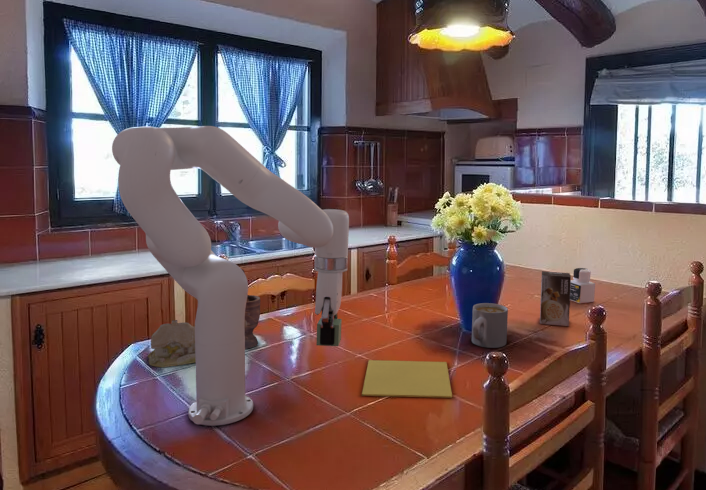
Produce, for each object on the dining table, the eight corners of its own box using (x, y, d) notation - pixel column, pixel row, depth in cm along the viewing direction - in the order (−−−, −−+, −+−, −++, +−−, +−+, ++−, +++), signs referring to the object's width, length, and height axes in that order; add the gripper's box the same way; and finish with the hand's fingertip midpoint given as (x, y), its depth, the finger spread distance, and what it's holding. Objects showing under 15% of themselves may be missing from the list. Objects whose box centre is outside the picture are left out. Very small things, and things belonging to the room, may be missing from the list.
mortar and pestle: (216, 341, 155) (215, 271, 152) (244, 334, 161) (244, 266, 159) (238, 352, 147) (237, 278, 144) (266, 345, 153) (266, 273, 151)
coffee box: (568, 320, 182) (571, 272, 180) (569, 326, 176) (571, 276, 174) (539, 318, 184) (541, 270, 182) (539, 324, 178) (541, 274, 176)
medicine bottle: (566, 298, 209) (568, 267, 208) (581, 297, 212) (583, 266, 211) (579, 303, 203) (581, 271, 201) (594, 302, 206) (596, 270, 204)
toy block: (338, 346, 127) (338, 325, 127) (316, 345, 127) (316, 324, 127) (341, 339, 132) (341, 318, 132) (319, 338, 132) (320, 317, 132)
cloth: (452, 397, 123) (452, 396, 123) (361, 395, 123) (361, 393, 123) (446, 363, 143) (446, 361, 143) (368, 361, 143) (368, 360, 143)
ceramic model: (141, 369, 135) (140, 329, 134) (150, 352, 145) (149, 315, 144) (203, 364, 138) (202, 325, 137) (207, 348, 149) (206, 312, 148)
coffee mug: (486, 333, 167) (487, 301, 166) (513, 342, 160) (515, 308, 159) (456, 343, 158) (457, 309, 157) (483, 353, 151) (484, 317, 150)
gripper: (320, 256, 136) (318, 328, 138) (308, 270, 119) (305, 352, 121) (351, 257, 136) (349, 329, 138) (343, 271, 119) (340, 353, 121)
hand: (328, 339), depth 129 cm, fingers closed on toy block, 5 cm apart
